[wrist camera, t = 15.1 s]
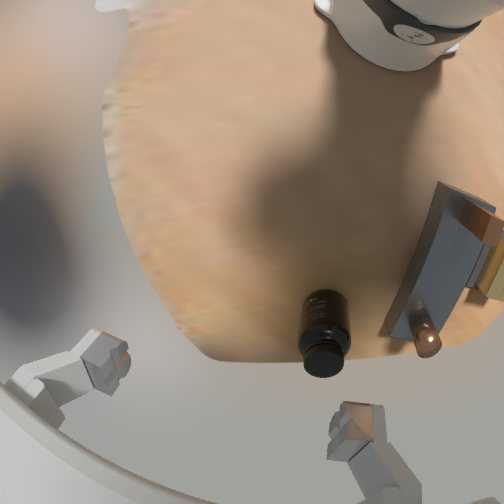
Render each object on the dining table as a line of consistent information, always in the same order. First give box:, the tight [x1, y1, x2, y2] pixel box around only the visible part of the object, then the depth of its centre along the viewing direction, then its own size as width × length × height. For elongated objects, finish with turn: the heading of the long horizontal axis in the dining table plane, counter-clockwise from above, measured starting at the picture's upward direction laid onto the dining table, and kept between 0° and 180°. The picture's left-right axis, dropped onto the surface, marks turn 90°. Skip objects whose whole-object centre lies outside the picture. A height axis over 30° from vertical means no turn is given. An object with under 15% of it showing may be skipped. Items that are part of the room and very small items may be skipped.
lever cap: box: [475, 238, 504, 302], centre depth 29 cm, size 8×5×4 cm, turn 172°
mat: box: [466, 230, 504, 290], centre depth 31 cm, size 10×8×1 cm
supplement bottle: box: [298, 290, 351, 378], centre depth 36 cm, size 7×7×12 cm
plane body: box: [386, 181, 504, 358], centre depth 30 cm, size 22×8×10 cm, turn 172°
